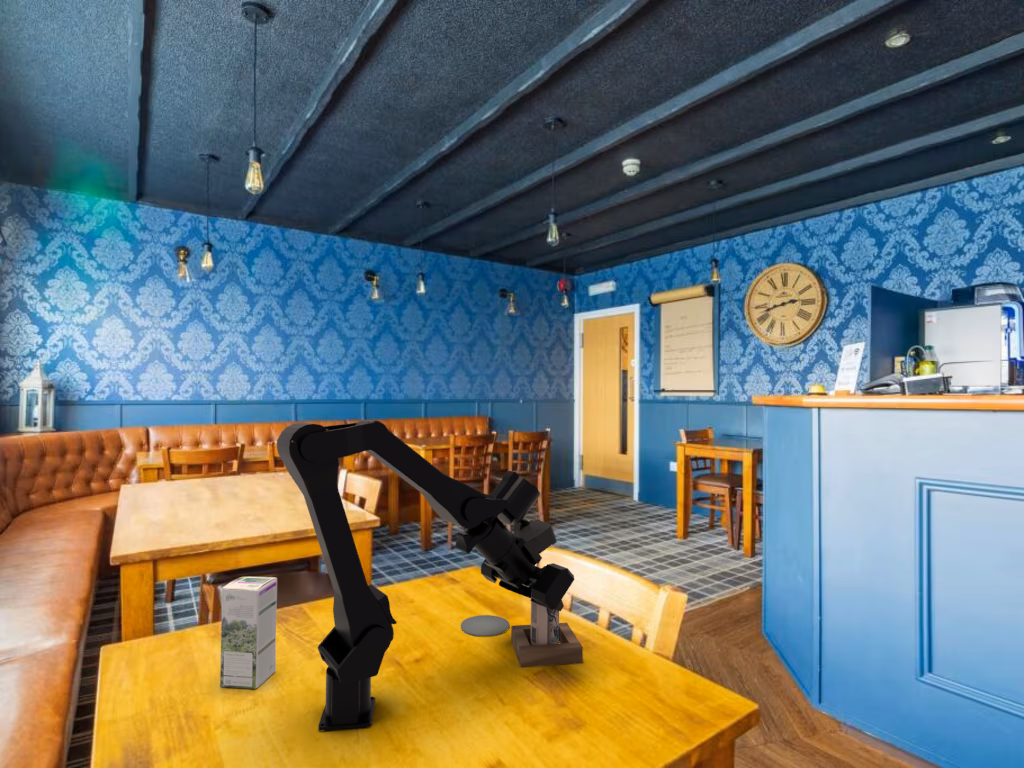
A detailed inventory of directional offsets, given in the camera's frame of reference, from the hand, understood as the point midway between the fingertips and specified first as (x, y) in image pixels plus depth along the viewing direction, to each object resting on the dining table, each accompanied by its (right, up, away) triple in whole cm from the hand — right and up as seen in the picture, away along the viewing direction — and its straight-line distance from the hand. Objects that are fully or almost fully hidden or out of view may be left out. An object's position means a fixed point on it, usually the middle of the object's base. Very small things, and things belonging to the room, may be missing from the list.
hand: (551, 603), depth 93 cm
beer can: (-1, -7, -1) cm, 7 cm away
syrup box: (-46, -7, -11) cm, 48 cm away
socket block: (-1, -8, -1) cm, 8 cm away
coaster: (-12, -8, +9) cm, 17 cm away
